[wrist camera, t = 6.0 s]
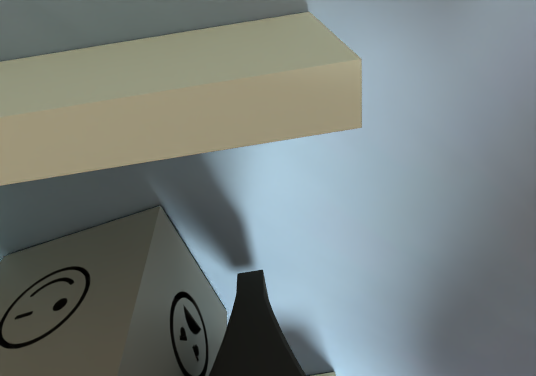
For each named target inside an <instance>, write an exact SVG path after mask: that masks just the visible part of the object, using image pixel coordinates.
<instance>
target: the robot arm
mask: <svg viewBox="0 0 536 376" xmlns="http://www.w3.org/2000/svg"><path fill="white" fill-rule="evenodd" d="M209 376H306V375H305V373H304V371H303V370H302V368H301V366H300V365H299V363H298V361H297V359H296V358H295V356H294V354H293V352H292V350H291V348H290V346H289V345H288V343H287V341H286V339H285V337H284V335H283V333H282V330H281V328H280V326H279V324H278V322H277V319H276V317H275V315H274V313H273V310H272V308H271V305H270V302H269V299H268V294H267V289H266V284H265V279H264V273H263V270H258V271H251V272H245V273H239V274H238V275H237V293H236V298H235V302H234V305H233V309H232V313H231V316H230V319H229V322H228V325H227V329H226V332H225V335H224V338H223V341H222V343H221V346H220V348H219V351H218V354H217V356H216V359H215V361H214V364H213V367H212V369H211V371H210V374H209Z"/></svg>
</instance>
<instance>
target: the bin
mask: <svg viewBox="0 0 536 376" xmlns="http://www.w3.org/2000/svg"><path fill="white" fill-rule="evenodd" d="M356 128H362V72H361V58H360V57H359V56H358V55H357V54H355V53H354V52H353V51H352V50H351V49H350V48H349V47H348V46H347V45H346V44H344V43H343V42H342V41H341V40H340V39H339V38H338V37H337V36H336V35H335V34H333V33H332V32H331V31H330V30H329V29H328V28H327V27H326V26H325V25H324V24H322V23H321V22H320V21H319V20H318V19H317V18H316V17H315V16H314V15H313V14H311V13H310V12H304V13H298V14H292V15H285V16H279V17H273V18H267V19H261V20H255V21H248V22H242V23H236V24H230V25H224V26H218V27H211V28H205V29H199V30H193V31H187V32H181V33H174V34H168V35H162V36H156V37H150V38H144V39H137V40H131V41H125V42H119V43H113V44H107V45H100V46H94V47H88V48H82V49H76V50H70V51H63V52H57V53H51V54H45V55H39V56H32V57H26V58H20V59H14V60H8V61H2V62H0V186H1V185H8V184H14V183H20V182H26V181H32V180H39V179H45V178H51V177H57V176H64V175H70V174H76V173H82V172H88V171H95V170H101V169H107V168H113V167H120V166H126V165H132V164H138V163H144V162H151V161H157V160H163V159H169V158H176V157H182V156H188V155H194V154H200V153H207V152H213V151H219V150H225V149H231V148H238V147H244V146H250V145H256V144H263V143H269V142H275V141H281V140H287V139H294V138H300V137H306V136H312V135H319V134H325V133H331V132H337V131H343V130H350V129H356ZM312 376H336V375H335V372H331V373H325V374H318V375H312Z"/></svg>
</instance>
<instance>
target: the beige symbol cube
mask: <svg viewBox="0 0 536 376" xmlns="http://www.w3.org/2000/svg"><path fill="white" fill-rule="evenodd" d="M226 329H227V311H226V310H225V308H224V306H223V305H222V303H221V302H220V300H219V298H218V297H217V295H216V294H215V292H214V291H213V289H212V287H211V286H210V284H209V283H208V281H207V279H206V278H205V276H204V275H203V273H202V271H201V270H200V268H199V267H198V265H197V263H196V262H195V260H194V259H193V257H192V255H191V254H190V252H189V251H188V249H187V247H186V246H185V244H184V243H183V241H182V240H181V238H180V236H179V235H178V233H177V232H176V230H175V228H174V227H173V225H172V224H171V222H170V220H169V219H168V217H167V216H166V214H165V212H164V211H163V209H162V208H161V206H158V207H155V208H152V209H148V210H145V211H142V212H139V213H136V214H133V215H130V216H127V217H124V218H121V219H117V220H114V221H111V222H108V223H105V224H102V225H99V226H96V227H93V228H90V229H87V230H83V231H80V232H77V233H74V234H71V235H68V236H65V237H62V238H59V239H56V240H52V241H49V242H46V243H43V244H40V245H37V246H34V247H31V248H28V249H25V250H22V251H18V252H15V253H12V254H9V255H6V256H4V258H3V259H2V260H1V262H0V376H209V374H210V371H211V369H212V367H213V364H214V361H215V359H216V356H217V354H218V351H219V348H220V346H221V343H222V341H223V338H224V335H225V332H226Z"/></svg>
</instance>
